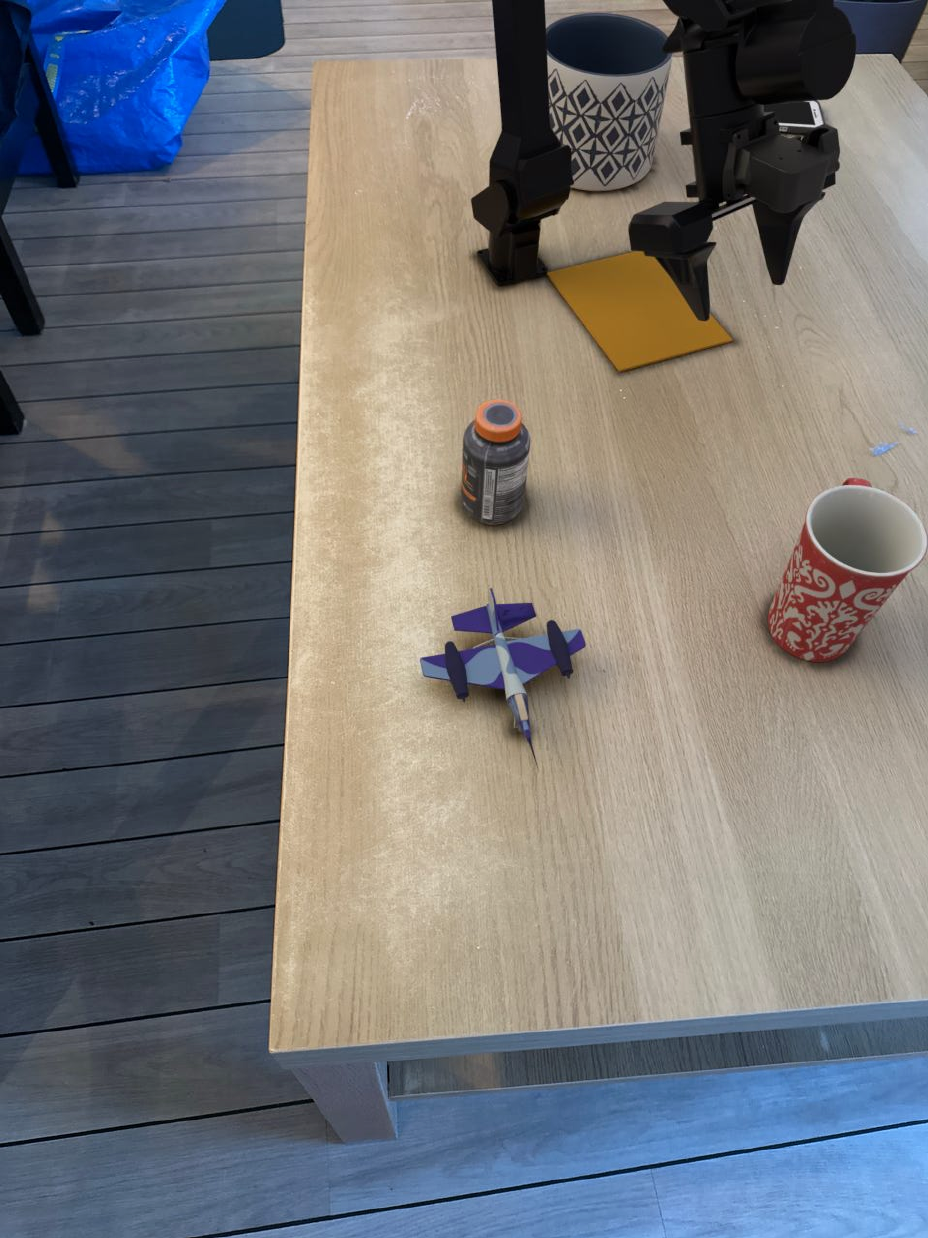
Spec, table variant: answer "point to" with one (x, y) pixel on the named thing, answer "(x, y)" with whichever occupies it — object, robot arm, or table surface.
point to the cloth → (635, 310)
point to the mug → (844, 568)
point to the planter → (607, 95)
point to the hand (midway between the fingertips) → (741, 302)
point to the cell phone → (797, 115)
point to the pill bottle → (495, 463)
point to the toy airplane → (504, 656)
